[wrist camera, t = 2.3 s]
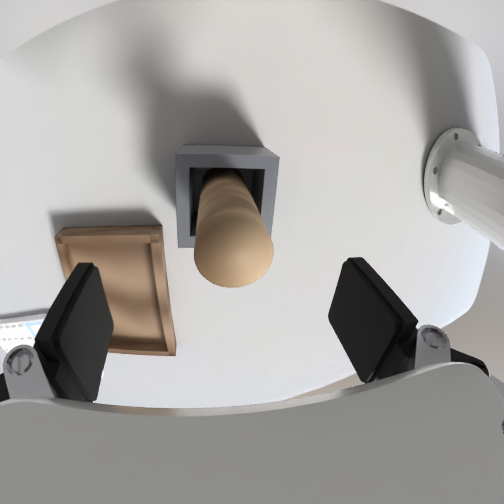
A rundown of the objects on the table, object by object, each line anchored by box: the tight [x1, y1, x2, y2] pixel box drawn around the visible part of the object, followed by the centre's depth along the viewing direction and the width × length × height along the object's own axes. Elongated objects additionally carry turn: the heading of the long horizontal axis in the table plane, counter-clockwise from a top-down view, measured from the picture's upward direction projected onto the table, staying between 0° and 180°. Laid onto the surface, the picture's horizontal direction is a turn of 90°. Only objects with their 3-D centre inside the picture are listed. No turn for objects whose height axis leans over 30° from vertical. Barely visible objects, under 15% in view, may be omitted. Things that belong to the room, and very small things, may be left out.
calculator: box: [0, 313, 104, 378], centre depth 30 cm, size 13×20×2 cm, turn 98°
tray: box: [55, 225, 176, 356], centre depth 26 cm, size 16×11×2 cm
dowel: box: [194, 168, 274, 288], centre depth 17 cm, size 4×4×12 cm
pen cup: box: [176, 145, 280, 248], centre depth 21 cm, size 7×7×6 cm
